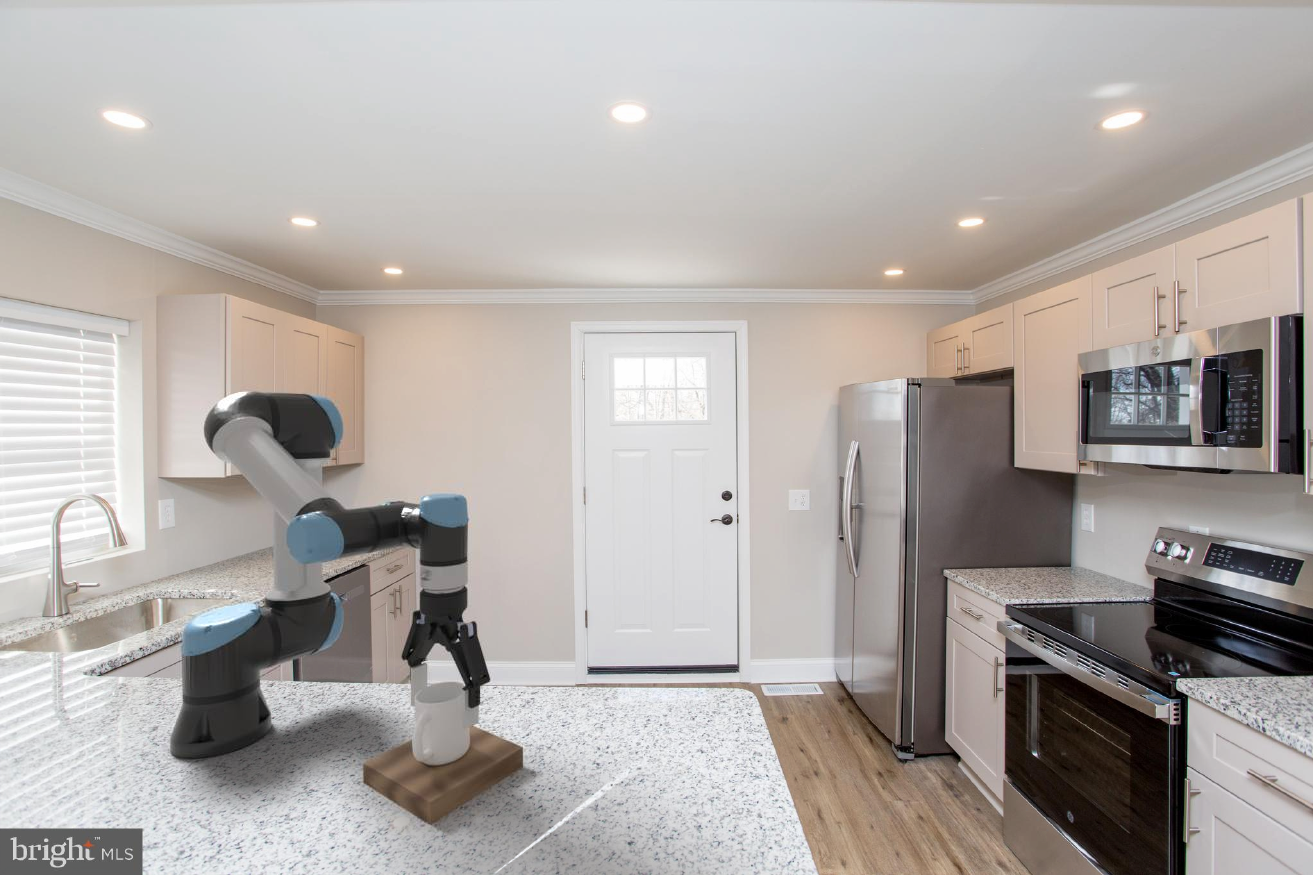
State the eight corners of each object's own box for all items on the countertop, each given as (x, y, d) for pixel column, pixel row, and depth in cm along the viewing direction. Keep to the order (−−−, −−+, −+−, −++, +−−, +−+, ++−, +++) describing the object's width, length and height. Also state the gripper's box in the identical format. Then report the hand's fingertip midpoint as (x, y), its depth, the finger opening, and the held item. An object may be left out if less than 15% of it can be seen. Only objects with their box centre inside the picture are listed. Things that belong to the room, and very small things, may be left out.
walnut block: (363, 787, 96) (363, 763, 95) (456, 739, 110) (456, 718, 110) (430, 829, 85) (430, 802, 85) (523, 770, 100) (522, 747, 100)
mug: (439, 783, 90) (435, 717, 89) (392, 778, 91) (388, 713, 91) (479, 741, 101) (476, 682, 101) (436, 737, 103) (433, 679, 103)
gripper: (380, 580, 101) (380, 702, 102) (474, 605, 88) (474, 746, 88) (418, 572, 108) (418, 686, 108) (512, 594, 94) (512, 725, 94)
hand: (443, 714), depth 98 cm, fingers open, 13 cm apart
